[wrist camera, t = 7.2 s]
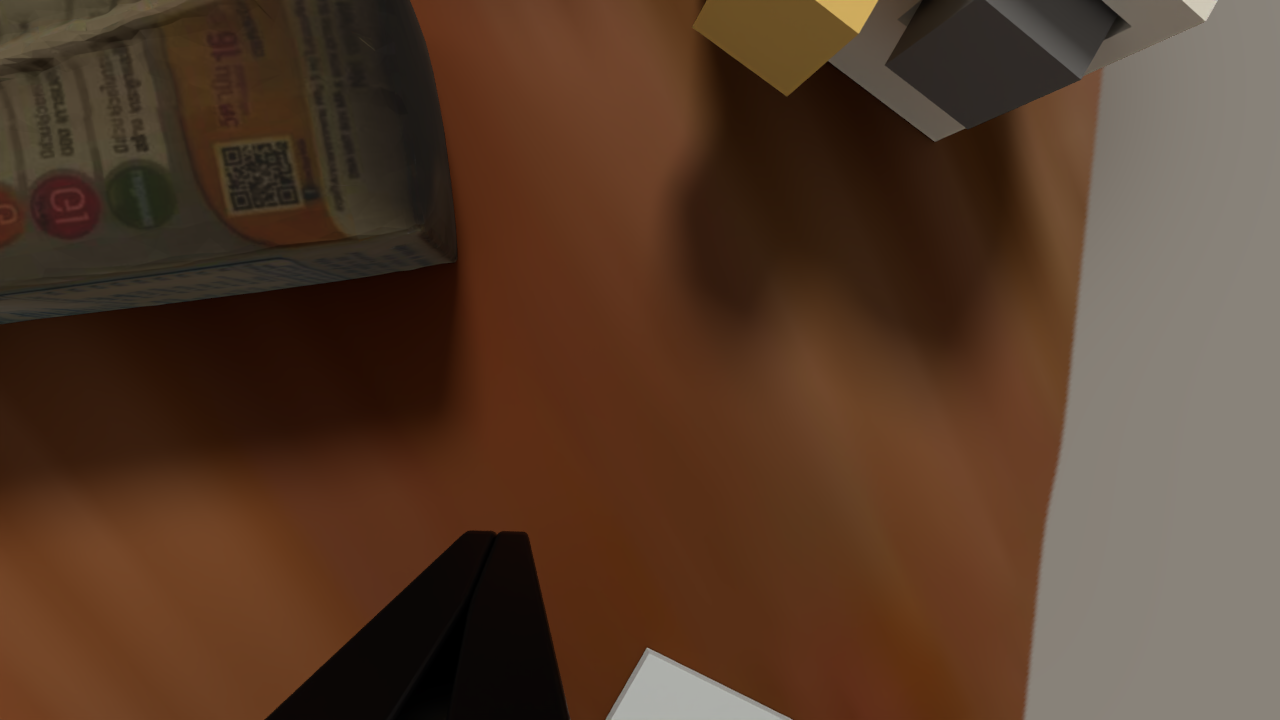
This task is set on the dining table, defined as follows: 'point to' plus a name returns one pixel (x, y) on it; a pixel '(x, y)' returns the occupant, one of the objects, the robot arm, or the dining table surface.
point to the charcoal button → (997, 52)
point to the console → (1147, 14)
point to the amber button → (783, 34)
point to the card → (681, 695)
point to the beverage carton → (213, 150)
